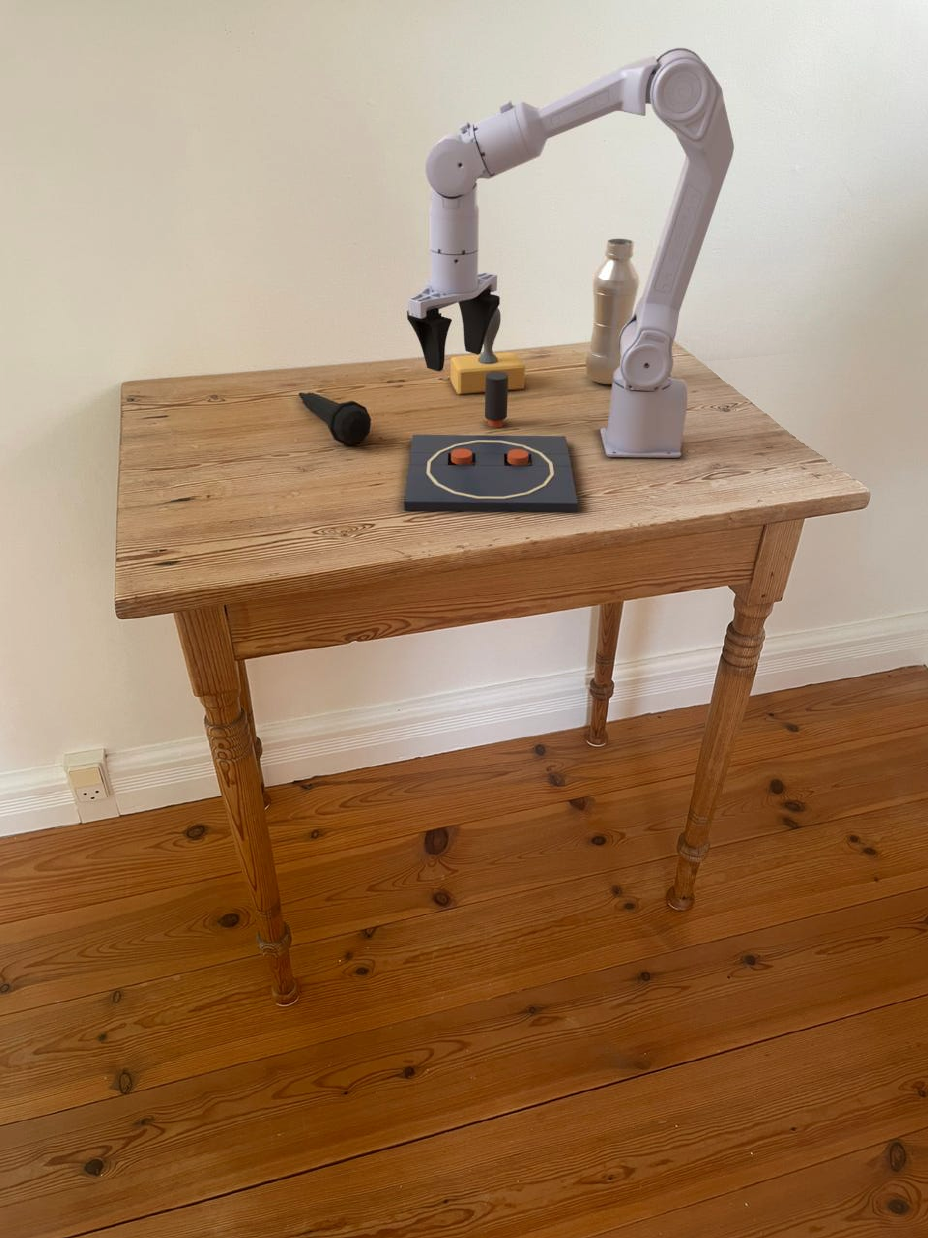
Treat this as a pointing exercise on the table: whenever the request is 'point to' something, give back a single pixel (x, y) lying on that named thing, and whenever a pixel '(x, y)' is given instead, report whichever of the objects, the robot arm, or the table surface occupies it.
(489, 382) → the marker
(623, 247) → the plastic bottle
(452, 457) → the eye
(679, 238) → the robot arm
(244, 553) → the table surface
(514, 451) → the eye
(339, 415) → the microphone
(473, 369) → the rubber stamp
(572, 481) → the face board
